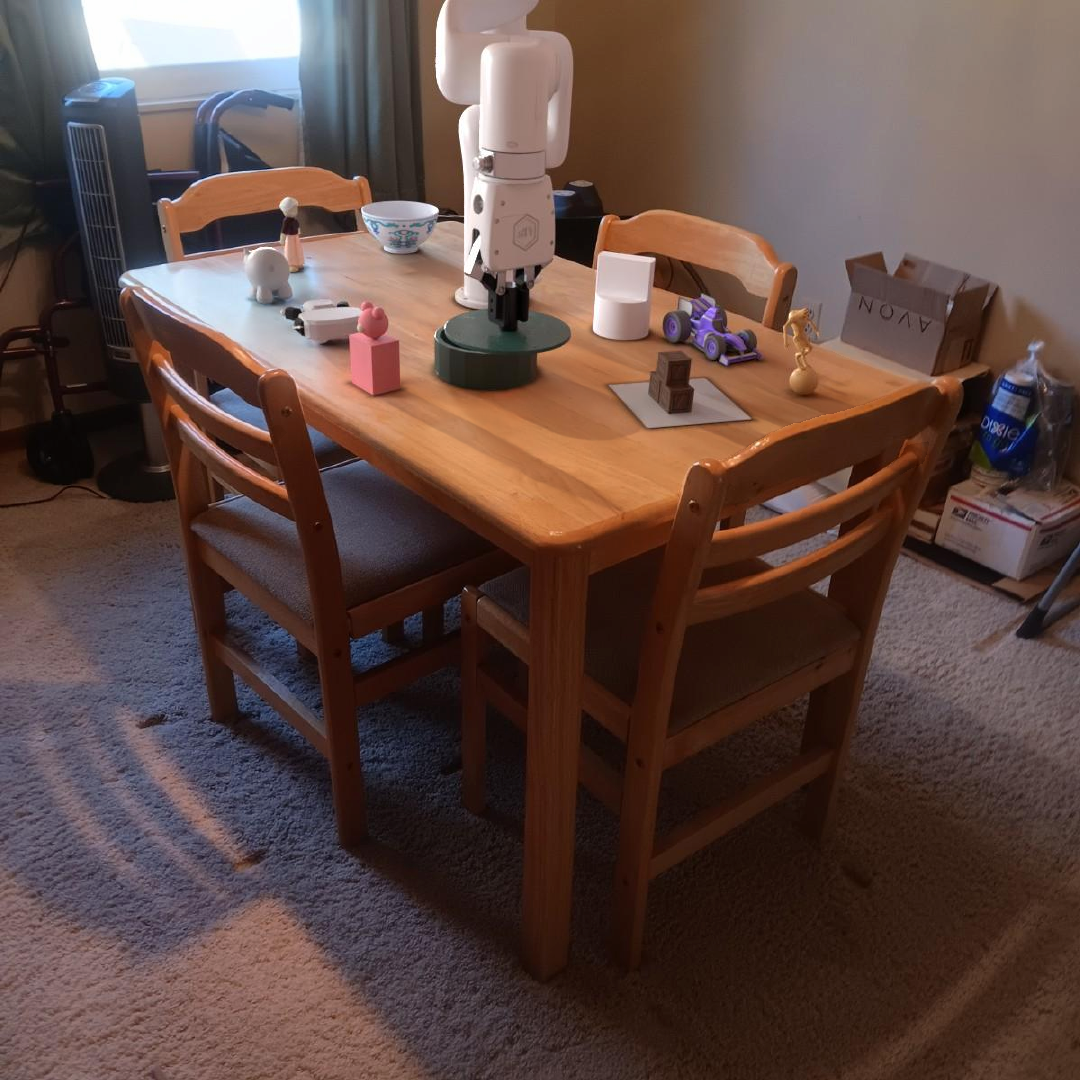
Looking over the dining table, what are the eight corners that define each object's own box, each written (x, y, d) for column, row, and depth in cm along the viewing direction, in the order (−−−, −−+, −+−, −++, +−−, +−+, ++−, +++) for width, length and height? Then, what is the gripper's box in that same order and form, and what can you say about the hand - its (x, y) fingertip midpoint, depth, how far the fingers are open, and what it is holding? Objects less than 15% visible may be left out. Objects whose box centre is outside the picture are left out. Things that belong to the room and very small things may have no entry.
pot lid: (517, 308, 134) (518, 259, 131) (596, 343, 124) (600, 290, 121) (419, 330, 125) (418, 278, 122) (496, 369, 115) (497, 314, 112)
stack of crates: (751, 419, 135) (759, 371, 131) (647, 428, 131) (652, 378, 127) (704, 378, 147) (710, 333, 143) (608, 385, 143) (612, 339, 139)
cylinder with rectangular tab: (585, 334, 161) (590, 259, 155) (602, 318, 168) (607, 246, 162) (640, 343, 159) (647, 267, 153) (654, 326, 166) (661, 253, 160)
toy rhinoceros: (272, 283, 178) (267, 234, 173) (298, 301, 169) (294, 250, 165) (232, 288, 174) (226, 238, 170) (257, 307, 166) (252, 255, 161)
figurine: (796, 405, 140) (811, 321, 134) (760, 392, 143) (774, 309, 137) (829, 391, 145) (845, 309, 139) (794, 378, 148) (808, 298, 142)
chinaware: (352, 255, 195) (350, 214, 191) (376, 236, 208) (374, 198, 204) (428, 262, 193) (427, 221, 189) (447, 243, 206) (446, 204, 202)
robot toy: (277, 328, 160) (302, 353, 148) (274, 300, 158) (299, 322, 146) (351, 320, 165) (382, 343, 153) (349, 292, 163) (380, 313, 151)
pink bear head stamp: (378, 376, 142) (375, 296, 136) (400, 389, 139) (398, 307, 133) (350, 383, 140) (345, 302, 134) (371, 396, 136) (368, 313, 130)
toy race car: (719, 368, 151) (725, 326, 147) (660, 337, 162) (664, 297, 158) (768, 359, 155) (774, 318, 152) (707, 329, 166) (712, 290, 163)
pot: (494, 346, 155) (495, 312, 152) (557, 376, 145) (559, 341, 142) (415, 365, 146) (414, 330, 144) (476, 398, 137) (476, 361, 134)
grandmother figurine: (300, 274, 183) (295, 202, 177) (279, 273, 183) (273, 201, 177) (309, 262, 190) (304, 193, 183) (289, 261, 190) (283, 192, 183)
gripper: (475, 177, 107) (473, 343, 117) (587, 163, 116) (577, 318, 126) (434, 165, 112) (436, 324, 122) (545, 152, 121) (538, 301, 131)
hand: (508, 319), depth 124 cm, fingers closed on pot lid, 2 cm apart
